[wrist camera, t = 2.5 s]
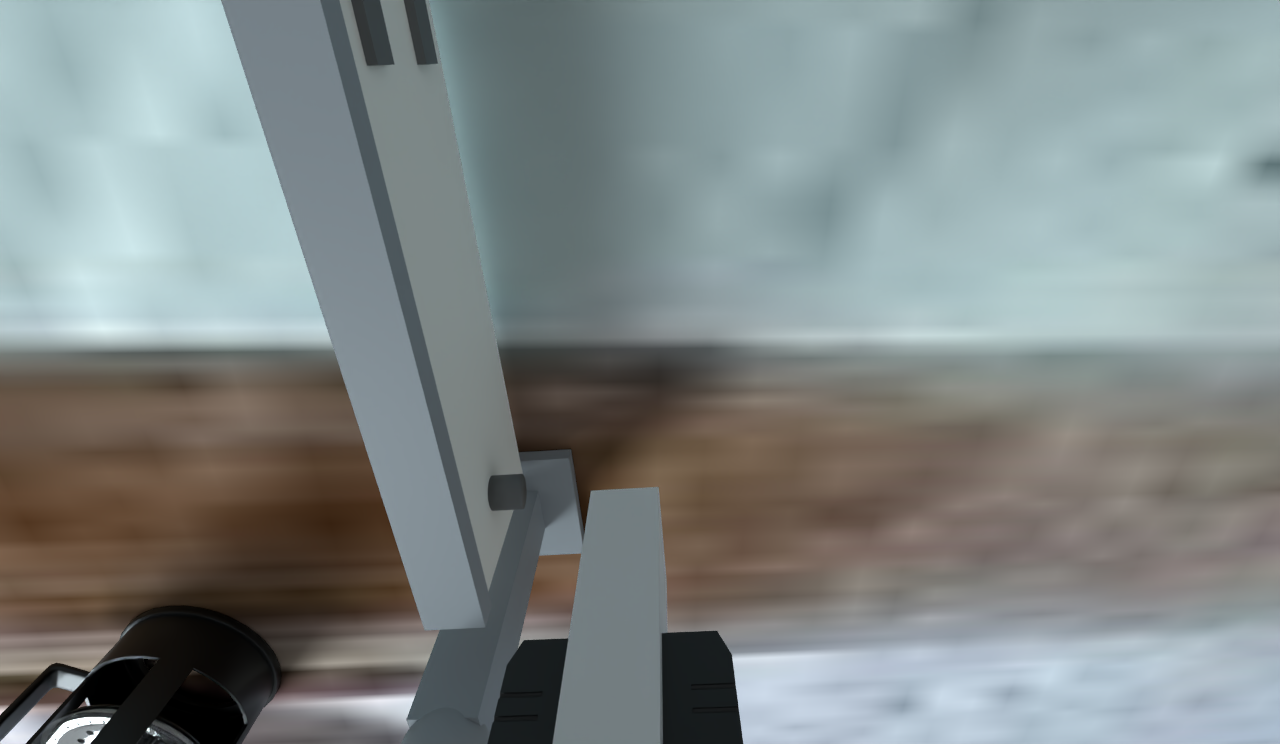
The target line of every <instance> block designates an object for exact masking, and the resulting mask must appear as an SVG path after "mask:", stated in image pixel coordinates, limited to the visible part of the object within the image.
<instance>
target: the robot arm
mask: <svg viewBox="0 0 1280 744" xmlns="http://www.w3.org/2000/svg"><path fill="white" fill-rule="evenodd" d="M487 744H743V739H742V731H741V723H740V716H739V709H738V700H737V692H736V686H735V677H734V669H733V661H732V654H731V653H730V651H729V649H728V648H727V646H726V645H725V643H724V641H723V640H722V638H721V637H720V635H719V633H718V632H717V631H700V632H676V633H668V631H667V582H666V569H665V557H664V546H663V534H662V522H661V510H660V498H659V487H652V488H634V489H615V490H597V491H591V494H590V501H589V507H588V514H587V520H586V527H585V533H584V540H583V547H582V553H581V560H580V566H579V573H578V579H577V586H576V593H575V599H574V606H573V612H572V619H571V625H570V632H569V639H545V640H524V641H523V642H522V644H521V645H520V647H519V648H518V650H517V651H516V652H515V654H514V655H513V657H512V658H511V660H510V661H509V663H508V664H507V666H506V670H505V674H504V678H503V682H502V686H501V690H500V698H498V702H497V707H496V711H495V715H494V722H493V723H492V727H491V731H490V735H489V739H488V743H487Z"/></svg>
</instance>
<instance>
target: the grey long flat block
mask: <svg viewBox="0 0 1280 744" xmlns="http://www.w3.org/2000/svg"><path fill="white" fill-rule="evenodd" d="M221 1H222V4H223V7H224V11H225V14H226V17H227V20H228V23H229V26H230V29H231V32H232V35H233V38H234V41H235V45H236V48H237V51H238V54H239V57H240V60H241V63H242V66H243V69H244V72H245V76H246V79H247V82H248V85H249V88H250V91H251V94H252V97H253V100H254V103H255V106H256V110H257V113H258V116H259V119H260V122H261V125H262V128H263V131H264V134H265V137H266V141H267V144H268V147H269V150H270V153H271V156H272V159H273V162H274V165H275V168H276V171H277V175H278V178H279V181H280V184H281V187H282V190H283V193H284V196H285V199H286V202H287V206H288V209H289V212H290V215H291V218H292V221H293V224H294V227H295V230H296V233H297V236H298V240H299V243H300V246H301V249H302V252H303V255H304V258H305V261H306V264H307V267H308V271H309V274H310V277H311V280H312V283H313V286H314V289H315V292H316V295H317V298H318V301H319V305H320V308H321V311H322V314H323V317H324V320H325V323H326V326H327V329H328V332H329V336H330V339H331V342H332V345H333V348H334V351H335V354H336V357H337V360H338V363H339V366H340V370H341V373H342V376H343V379H344V382H345V385H346V388H347V391H348V394H349V397H350V401H351V404H352V407H353V410H354V413H355V416H356V419H357V422H358V425H359V428H360V432H361V435H362V438H363V441H364V444H365V447H366V450H367V453H368V456H369V459H370V462H371V466H372V469H373V472H374V475H375V478H376V481H377V484H378V487H379V490H380V493H381V497H382V500H383V503H384V506H385V509H386V512H387V515H388V518H389V521H390V524H391V527H392V531H393V534H394V537H395V540H396V543H397V546H398V549H399V552H400V555H401V558H402V562H403V565H404V568H405V571H406V574H407V577H408V580H409V583H410V586H411V589H412V592H413V596H414V599H415V602H416V605H417V608H418V611H419V614H420V617H421V620H422V623H423V627H424V630H444V629H466V628H485V627H486V624H487V621H488V617H489V614H490V611H491V607H492V604H491V600H490V596H489V592H488V591H489V588H490V585H491V582H492V578H493V575H494V572H495V569H496V565H497V562H498V559H499V556H500V552H501V549H502V546H503V543H504V540H505V536H506V533H507V530H508V527H509V523H510V520H511V517H512V514H513V510H518V509H524V507H525V504H526V497H527V489H526V481H525V477H524V475H523V472H522V467H521V462H520V457H519V452H518V447H517V442H516V437H515V432H514V427H513V422H512V417H511V412H510V407H509V402H508V397H507V392H506V387H505V382H504V376H503V371H502V366H501V361H500V356H499V351H498V346H497V341H496V336H495V331H494V326H493V321H492V316H491V311H490V306H489V301H488V296H487V291H486V286H485V281H484V275H483V270H482V265H481V260H480V255H479V250H478V245H477V240H476V235H475V230H474V225H473V220H472V215H471V210H470V205H469V200H468V195H467V190H466V185H465V180H464V175H463V169H462V164H461V159H460V154H459V149H458V144H457V139H456V134H455V129H454V124H453V119H452V114H451V109H450V104H449V99H448V94H447V89H446V84H445V79H444V74H443V68H442V63H441V58H440V53H439V48H438V43H437V38H436V33H435V28H434V23H433V18H432V13H431V8H430V3H429V0H221Z"/></svg>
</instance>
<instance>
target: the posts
mask: <svg viewBox="0 0 1280 744" xmlns="http://www.w3.org/2000/svg"><path fill="white" fill-rule="evenodd" d="M519 457H520V462H521V467H522V472H523V475H524V477H525V481H526V489H527V497H526V504H525V507H524V509H518V510H513V514H512V517H511V520H510V523H509V527H508V530H507V533H506V536H505V540H504V543H503V546H502V549H501V552H500V556H499V559H498V562H497V565H496V569H495V572H494V575H493V578H492V582H491V585H490V588H489V591H488V592H489V596H490V600H491V604H492V607H491V611H490V614H489V617H488V621H487V624H486V627H485V628H466V629H444V630H440V631H439V634H438V637H437V639H436V642H435V645H434V647H433V650H432V653H431V655H430V658H429V661H428V663H427V666H426V669H425V671H424V674H423V677H422V679H421V682H420V685H419V687H418V690H417V693H416V696H415V698H414V701H413V704H412V706H411V709H410V712H409V714H408V717H407V723H408V725H409V728H410V729H409V730H408V732H407V733H406V735H405V737H404V739H403V741H402V743H401V744H487V743H488V739H489V735H490V731H491V727H492V723H493V722H494V715H495V711H496V707H497V702H498V698H500V690H501V686H502V682H503V678H504V674H505V670H506V666H507V664H508V663H509V661H510V660H511V658H512V657H513V655H514V654H515V652H516V651H517V649H518V645H519V641H520V636H521V632H522V627H523V623H524V619H525V614H526V610H527V606H528V601H529V597H530V593H531V588H532V584H533V580H534V575H535V571H536V567H537V562H538V558H539V555H557V554H577V553H582V547H583V540H584V530H583V524H582V517H581V511H580V504H579V498H578V491H577V485H576V478H575V472H574V465H573V459H572V452H571V449H568V450H551V451H534V452H519Z"/></svg>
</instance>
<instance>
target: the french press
mask: <svg viewBox="0 0 1280 744" xmlns="http://www.w3.org/2000/svg"><path fill="white" fill-rule="evenodd" d="M143 658H146V659H155V660H158V661H157V662H156V664H155V665H154V666H153V667H152V668H151V670H150V671H149V670H148V668H147V667H146V665H145V663H144V660H143ZM192 670H194V671H196V672H198V673H200V674H202V675H204V676H206V677H208V678H209V679H211V680H212V681H214V682H215V683H216V684H218V685H219V686H221V687H222V688H223V689H224V690H225V691H226V692H227V693H228V694H229V695H230V696H231V697H232V698H233V699H234V701H232V702H226V703H211V702H203V701H199V700H195V699H191V698H188V697H186V696H183V695H180V694H178V693H176V691H177V690H178V688H179V687H180V686H181V684H182V683H183V682H184V680H185V679H186V678H187V676H188V675H189V674H190V672H191V671H192ZM280 681H281V670H280V665H279V662H278V660H277V658H276V655H275V654H274V652H273V651H272V650H271V648H270V647H269V645H268V644H267V643H266V642H265V641H264V640H263V639H262V638H261V637H260V636H259V635H257V634H256V633H255V632H253V631H252V630H251V629H249V628H248V627H246V626H245V625H243V624H241V623H239V622H238V621H236V620H234V619H232V618H230V617H227V616H225V615H222V614H220V613H217V612H214V611H210V610H206V609H202V608H196V607H188V606H167V607H161V608H156V609H152V610H150V611H147V612H145V613H142V614H141V615H139V616H138V617H137V618H135V619H134V620H132V621H131V622H130V623H129V624H128V626H127V627H126V628H125V630H124V631H123V632H122V634H121V637H120V640H119V641H118V642H117V643H116V644H115V646H114V647H113V648H112V649H111V650H110V651H109V652H108V653H107V654H106V655H105V656H104V658H103V659H102V660H101V661H100V662H99V663H98V664H97V665H96V666H95V667H94V668H93V669H92V671H91V672H88V671H85V670H82V669H78V668H75V667H71V666H68V665H64V664H60V663H55V664H52V665H50V666H49V667H48V668H47V669H46V670H45V671H44V672H43V673H42V674H41V675H40V676H39V677H38V678H37V679H36V680H35V681H34V682H33V683H32V684H31V685H30V686H29V687H28V688H27V689H26V690H25V691H24V692H23V693H22V694H21V695H20V696H19V697H18V698H17V699H16V700H15V701H14V702H13V703H12V704H11V705H10V706H9V707H8V708H7V709H6V710H5V711H4V712H3V713H2V714H1V715H0V741H1V740H2V739H3V738H4V737H5V736H6V735H7V734H8V733H9V732H10V731H11V730H12V729H13V728H14V727H15V725H16V724H17V723H18V722H19V721H20V720H21V719H22V718H23V717H24V716H25V715H26V714H27V713H28V712H29V711H30V710H31V709H32V708H33V707H34V706H35V705H36V704H37V703H38V701H39V700H40V699H41V698H42V697H43V696H44V695H45V694H46V693H47V692H48V691H49V690H51V689H52V688H61V689H65V690H68V691H72V692H73V693H72V694H71V695H70V696H69V697H68V698H67V699H66V700H65V701H64V702H63V704H62V705H61V706H60V707H59V708H58V709H57V710H56V711H55V712H54V713H53V714H52V716H51V717H50V718H49V719H48V720H47V721H46V722H45V723H44V724H43V725H42V726H41V728H40V729H39V730H38V731H37V732H36V733H35V734H34V735H33V736H32V737H31V738H30V740H29V741H28V742H27V743H26V744H242V742H243V740H244V739H245V737H246V735H247V734H248V732H249V730H250V729H251V727H252V725H253V724H254V722H255V721H256V719H257V717H258V716H259V714H260V712H261V711H262V709H263V708H264V707H265V706H266V705H267V704H268V703H269V702H270V701H271V700H272V699H273V698H274V696H275V694H276V692H277V690H278V688H279V686H280ZM84 700H85V701H86V704H87V706H84V707H80V708H78V707H79V706H80V705H81V704H82V703H83V702H84Z"/></svg>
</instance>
